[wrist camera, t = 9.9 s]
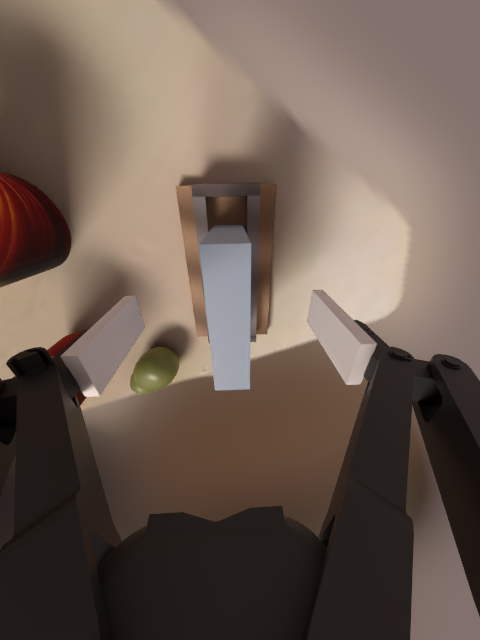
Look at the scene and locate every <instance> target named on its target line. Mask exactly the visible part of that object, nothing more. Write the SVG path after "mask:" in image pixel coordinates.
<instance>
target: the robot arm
mask: <svg viewBox="0 0 480 640" xmlns="http://www.w3.org/2000/svg"><path fill="white" fill-rule="evenodd" d="M307 322H308V324H309V326H310V327H311V329H312V330H313V332H314V334H315V335H316V337H317V338H318V340H319V342H320V343H321V345H322V346H323V348H324V349H325V351H326V353H327V354H328V356H329V358H330V359H331V361H332V362H333V364H334V365H335V367H336V369H337V370H338V372H339V374H340V375H341V377H342V378H343V380H344V382H345V383H346V385H355V384H361V382H362V379H363V377H365V378H366V379H367V381H368V384H367V386H366V388H365V390H364V393H363V395H362V396H363V398H362V402H361V405H360V408H359V411H358V415H357V418H356V421H355V425H354V428H353V431H352V434H351V437H350V440H349V444H348V447H347V450H346V454H345V457H344V460H343V464H342V466H341V470H340V473H339V476H338V479H337V483H336V486H335V489H334V492H333V496H332V499H331V502H330V505H329V509H328V511H327V514H326V516H325V519H324V522H323V524H322V527H321V530H320V533H319V537H317V536H316V535H315V534H314V533H313V532H312V531H310V530H309V529H308V528H307V527H306V526H304V525H303V524H301V523H300V522H298V521H296V520H294V519H292V518H290V517H287V516H284V515H283V509H282V506H274V507H258V508H249V509H247V510H244V511H242V512H240V513H237V514H235V515H232V516H230V517H228V518H226V519H223V520H221V521H218V522H213V521H210V520H206V519H203V518H200V517H196V516H193V515H190V514H186V513H183V512H180V513H163V514H150V515H149V519H148V523H147V526H145V527H143V528H141V529H139V530H137V531H135V532H134V533H133V534H131V535H130V536H128V537H127V538H126V539H124V540H123V541H122V539H121V537H120V535H119V533H118V531H117V529H116V527H115V525H114V522H113V519H112V516H111V512H110V509H109V505H108V502H107V498H106V495H105V491H104V488H103V484H102V481H101V477H100V474H99V470H98V467H97V463H96V460H95V457H94V453H93V449H92V446H91V442H90V439H89V436H88V432H87V429H86V425H85V422H84V418H83V415H82V411H81V408H80V404H79V401H78V399H77V397H76V394H77V392H78V391H79V390H80V389H81V391H82V393H83V394H84V396H85V397H91V396H100V395H101V394H102V392H103V391H104V389H105V388H106V386H107V385H108V383H109V381H110V380H111V378H112V377H113V375H114V374H115V372H116V371H117V369H118V368H119V366H120V365H121V363H122V362H123V360H124V358H125V357H126V355H127V354H128V352H129V351H130V349H131V348H132V346H133V345H134V343H135V342H136V340H137V339H138V337H139V336H140V334H141V332H142V331H143V329H144V328H145V326H144V322H143V319H142V316H141V312H140V309H139V306H138V303H137V299H136V296H124V297H123V298H122V299H121V300H120V301H119V302H118V303H117V304H116V305H115V306H113V307H112V308H111V309H110V310H109V311H108V312H107V313H106V314H105V315H104V316H103V317H102V318H101V319H100V320H99V321H97V322H96V323H95V324H94V325H93V326H92V327H91V328H90V329H89V330H86V331H85V332H83V333H81V334H79V335H78V336H77V337H75V338H74V339H73V340H72V342H70V343H69V344H68V345H67V347H64V348H63V349H62V350H61V351H60V352H59V353H58V354H57V355H56V356H55V357H53V358H51V357H50V355H49V353H48V352H47V350H46V349H45V348H42V347H38V348H32V349H28V350H25V351H22V352H20V353H18V354H16V355H14V356H13V357H11V358H10V359H9V360H8V361H7V363H6V364H7V366H8V367H9V368H10V369H11V371H12V372H13V373H14V374H15V376H16V378H12V379H7V380H3V381H2V380H1V379H0V496H1V494H2V490H3V488H4V485H5V483H6V480H7V477H8V474H9V471H10V469H11V466H12V463H13V461H14V458H15V455H16V464H15V509H14V534H13V537H12V539H11V540H10V541H9V542H7V543H6V544H4V545H3V547H2V548H1V550H0V640H410V625H411V624H410V623H411V596H412V567H413V566H412V565H413V538H414V533H413V522H412V519H411V517H409V516H408V515H407V514H406V492H407V476H408V461H409V445H410V427H411V414H412V406H413V408H414V412H415V415H416V418H417V421H418V424H419V428H420V431H421V434H422V437H423V440H424V444H425V447H426V450H427V453H428V456H429V459H430V463H431V466H432V469H433V472H434V475H435V478H436V482H437V485H438V488H439V491H440V494H441V498H442V501H443V504H444V507H445V510H446V513H447V516H448V520H449V523H450V526H451V529H452V532H453V536H454V539H455V542H456V545H457V548H458V551H459V555H460V558H461V561H462V564H463V567H464V571H465V574H466V577H467V580H468V583H469V586H470V589H471V592H472V596H473V599H474V602H475V605H476V607H477V610H478V613H479V616H480V381H479V379H478V378H477V377H476V375H475V374H474V373H473V371H472V370H471V368H470V367H469V366H468V365H467V364H465V363H464V362H462V361H461V360H459V359H457V358H455V357H452V356H448V355H442V354H437V355H434V356H433V357H432V359H431V360H430V362H428V361H423V360H416V359H414V357H413V356H412V355H411V354H409V353H408V352H406V351H404V350H402V349H399V348H395V347H389V346H388V345H387V344H386V343H385V342H384V341H383V340H382V339H380V338H379V337H378V336H377V335H376V334H375V333H374V332H373V331H372V330H370V328H369V327H368V326H367V325H365V324H364V323H362V322H360V321H358V320H353V319H352V318H351V317H350V316H349V315H348V314H347V313H346V312H345V311H344V310H343V309H342V308H340V307H339V306H338V305H337V304H336V303H335V302H334V301H333V300H332V299H331V298H330V297H329V296H328V295H327V294H326V293H325V292H324V291H323V290H312V296H311V301H310V307H309V312H308V318H307Z"/></svg>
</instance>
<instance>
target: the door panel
mask: <svg viewBox="0 0 480 640" xmlns="http://www.w3.org/2000/svg"><path fill="white" fill-rule="evenodd" d="M199 249H200V258H201V267H202V276H203V285H204V294H205V304H206V313H207V322H208V331H209V340H210V349H211V358H212V367H213V376H214V385H215V390H240V389H250V314H251V242H250V240H249V238H248V236H247V234H246V232H245V229H244V227H243V225H214V226H213V228H212V229H211V230H210V231H209V233H208V234H207V235H206V236H205V238H204V239H203V240H202V241H201V243H200V244H199Z"/></svg>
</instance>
